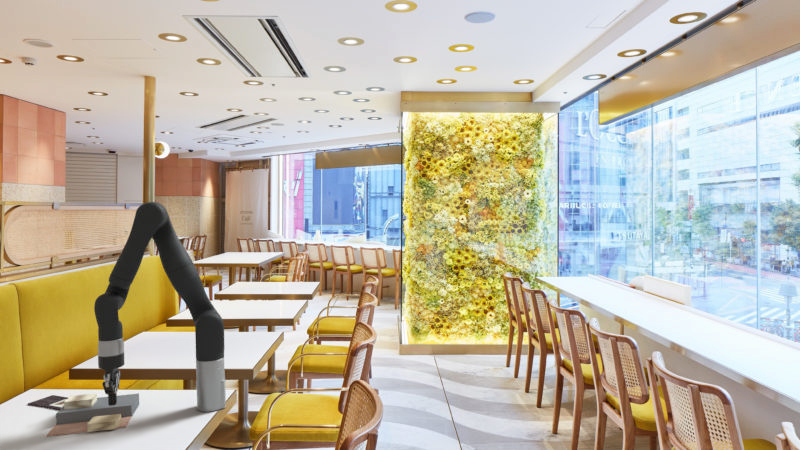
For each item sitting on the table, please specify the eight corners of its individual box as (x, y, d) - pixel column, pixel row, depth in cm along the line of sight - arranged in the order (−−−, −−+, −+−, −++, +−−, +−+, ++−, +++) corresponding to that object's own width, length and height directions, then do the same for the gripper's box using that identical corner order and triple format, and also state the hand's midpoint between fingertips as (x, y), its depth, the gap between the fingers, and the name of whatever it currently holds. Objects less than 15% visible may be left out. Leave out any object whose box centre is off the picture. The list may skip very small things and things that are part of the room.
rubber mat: (131, 417, 171) (131, 416, 171) (125, 427, 164) (125, 425, 163) (55, 426, 165) (55, 424, 165) (46, 436, 157) (46, 435, 157)
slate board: (139, 404, 183) (138, 393, 183) (131, 417, 172) (131, 405, 172) (68, 412, 177) (68, 400, 177) (56, 425, 166) (55, 413, 165)
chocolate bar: (52, 395, 193) (86, 400, 187) (52, 397, 193) (86, 403, 187) (27, 403, 185) (62, 409, 178) (27, 406, 185) (62, 412, 178)
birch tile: (97, 400, 177) (96, 393, 177) (91, 406, 171) (91, 399, 171) (70, 403, 175) (70, 395, 174) (64, 409, 169) (64, 402, 169)
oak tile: (115, 420, 161) (115, 428, 161) (121, 413, 167) (121, 421, 167) (87, 423, 159) (87, 431, 159) (93, 416, 165) (93, 424, 165)
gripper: (118, 356, 164) (120, 410, 165) (128, 346, 177) (129, 396, 177) (92, 358, 162) (94, 413, 162) (104, 348, 175) (105, 399, 175)
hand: (112, 404), depth 170 cm, fingers closed
